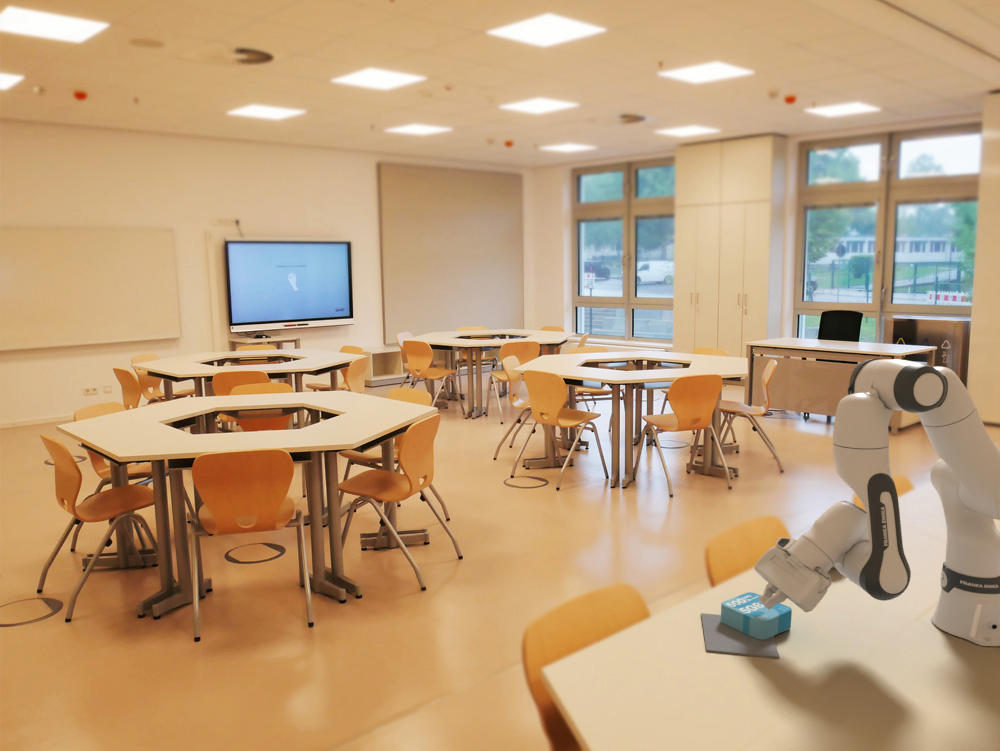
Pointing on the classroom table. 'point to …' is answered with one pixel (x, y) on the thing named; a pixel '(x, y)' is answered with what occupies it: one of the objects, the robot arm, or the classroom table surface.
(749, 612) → the data package
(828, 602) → the classroom table surface
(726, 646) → the mat
